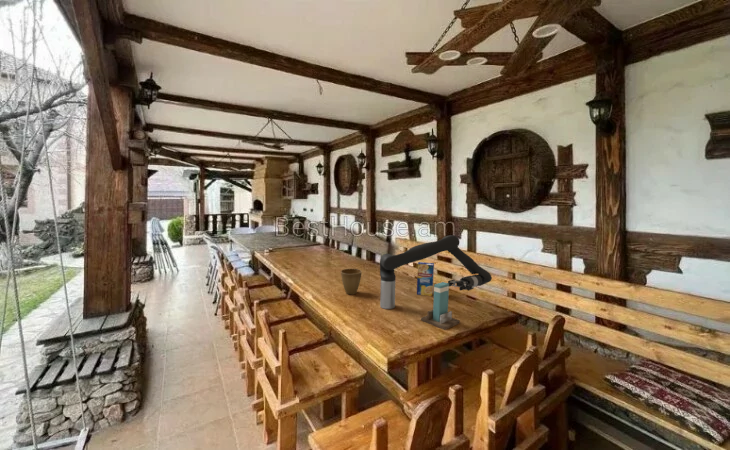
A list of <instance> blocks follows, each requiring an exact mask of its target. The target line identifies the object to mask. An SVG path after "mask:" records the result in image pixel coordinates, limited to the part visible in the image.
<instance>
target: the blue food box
mask: <svg viewBox="0 0 730 450" xmlns="http://www.w3.org/2000/svg"><path fill="white" fill-rule="evenodd" d="M434 269H435V262H424V261H423V262H422V261H419V262H418V261H417V271H416V272H417V273H416V274H417V275H416V279H417V280H416V295H418V296H430V297H433V296H434V271H435V270H434Z"/></svg>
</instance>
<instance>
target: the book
mask: <svg viewBox="0 0 730 450" xmlns="http://www.w3.org/2000/svg"><path fill="white" fill-rule="evenodd" d="M449 291H450V287H449V284H448V282H445V281H442V282H439V283H433V304H432V305H433V307H432V310H433V320H435V321H437V322H440V315H442V314H445V313H447V312H449Z"/></svg>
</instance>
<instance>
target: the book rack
mask: <svg viewBox="0 0 730 450" xmlns="http://www.w3.org/2000/svg"><path fill="white" fill-rule="evenodd" d="M426 312H427V313H426V315H425V316H422V317H421V318H420V321H421V322H423V323H426V324H429V325H431V326H433V327H435V328H439V329H441V330H443V331H446V330H448V329H450V328H452V327H455V326H457V325H459V324H460V323H461V320H459V319H457V318H453V317H452V316H453V311H452V310H450V311H448V312H447V313H445V314H442V315H440V322H437V321H435V320H433V309H430V310H429V311H426Z"/></svg>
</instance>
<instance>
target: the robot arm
mask: <svg viewBox="0 0 730 450" xmlns="http://www.w3.org/2000/svg"><path fill="white" fill-rule="evenodd" d="M459 246H460V238H459V237H458V236H456V235H453V234H452V235H451V234H450V235H446V236H444V237H442V238H441V239H439V240H436V241H429V242H425V243H421V244H417V245H415V246H413V247H410V248H409V249H407V250H406V251H404V252H402V253H398V254H394V255H392V254H391V253H384V254H383V255H381V257H380V259H379V276H380V297H379V298H380V300H379V302H380V303H379V306H380V308H382V309H384V310H393V309H394V308H395V307H396V279H397V278H396V274H395V270H396V269H398V268H400V267H403V266H404V265H409V264H411V263H414V262H415V263H416V262H418V261H421V260H425V259H427V258H430V257H432V256H435V255H437V254H439V253H442V252H446V251H447V252H448V253H449V254H451V255H452V256H453V257H455V259H457V261H459V263H460V264H462V266H463V267H464V268H465V269H466V270H467V271H468V272H469V273H470V274H471V275H467V276H464V277H461V278H460V279H459V280H456V279H451V280H450V279H449V280H448V281H447V283H448V284H449V288H450V287H454V288H457V287H458V288H459V291H472V290H474V289H475V288H476V287H480V286H483V285H486V284H488V283H490V282H492V278H493V277H492V275H491V273H490V272H489V271H488V270H486V269H485V268H483V267H481V266H480V265H479V264H478V263H477V262H476V261H475V260H474V258H471V257H470V256H469V255H468V254H467V253H465V252H464V251H463V250H461V249H460V248H459Z"/></svg>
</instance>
